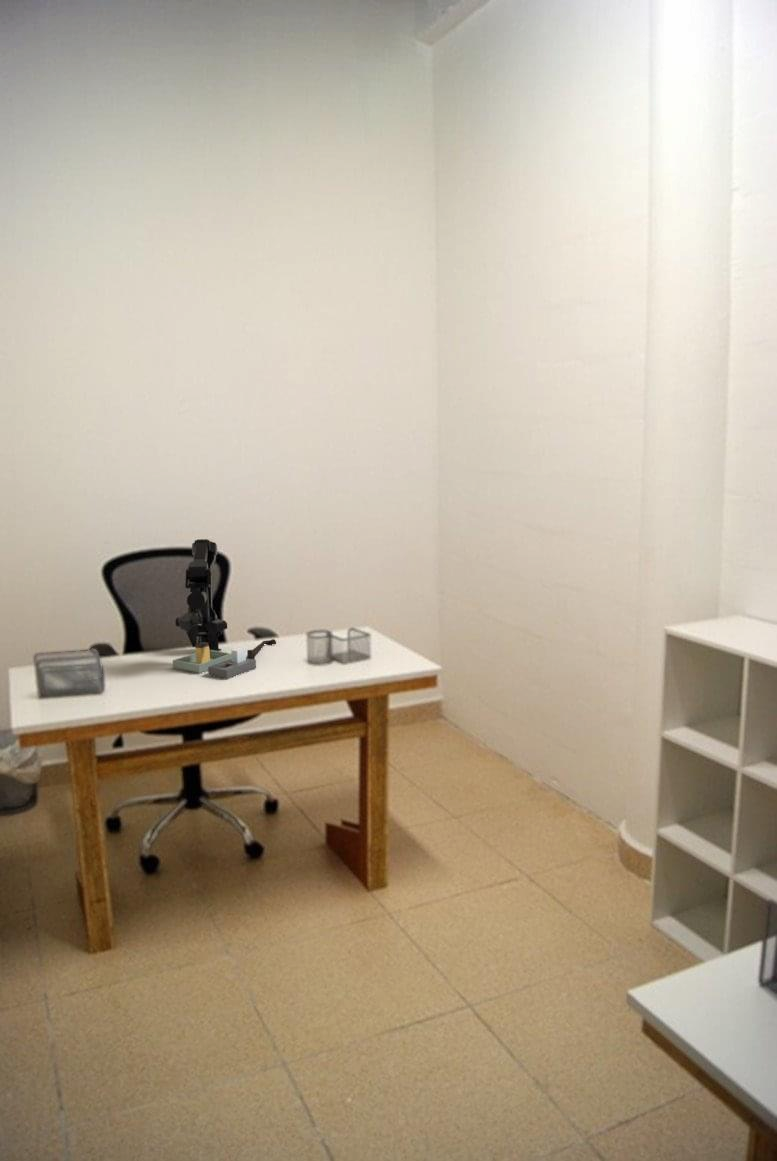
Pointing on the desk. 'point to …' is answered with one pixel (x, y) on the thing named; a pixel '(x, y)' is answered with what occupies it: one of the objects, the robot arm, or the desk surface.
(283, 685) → the desk surface
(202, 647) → the tan and brown block
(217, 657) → the parts tray
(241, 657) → the white rectangular block
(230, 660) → the fuse block
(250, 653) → the wrench
